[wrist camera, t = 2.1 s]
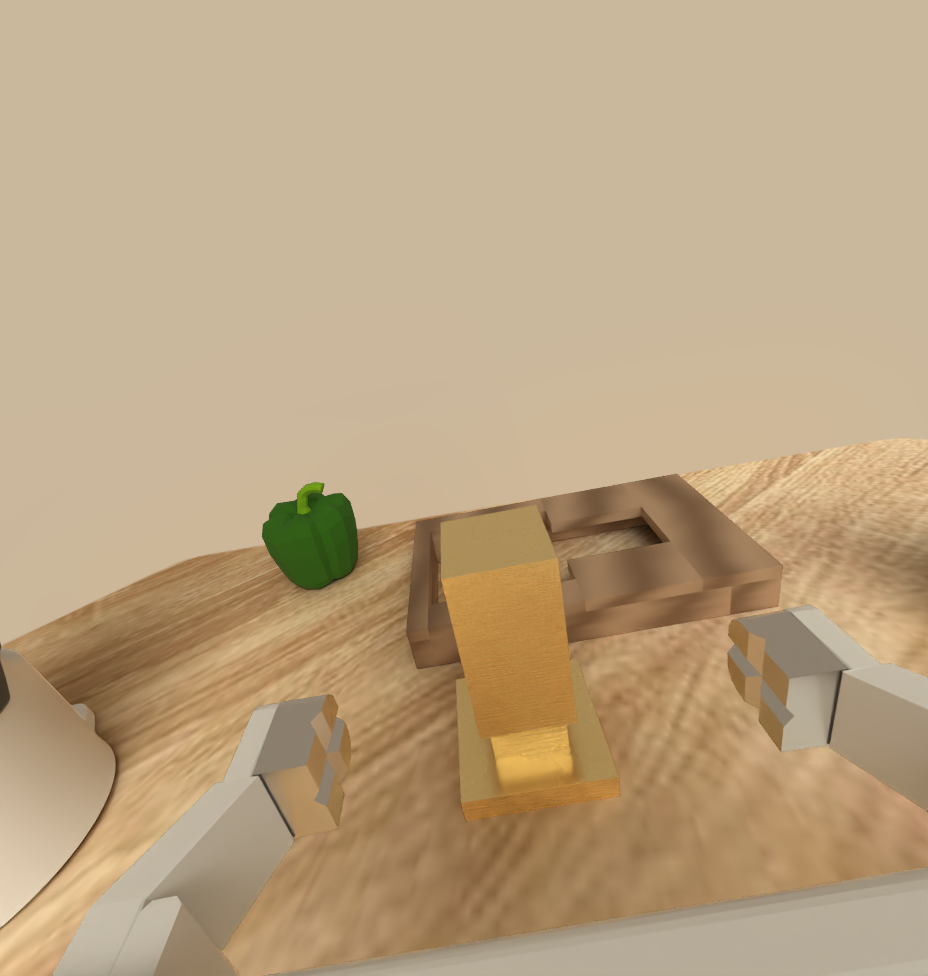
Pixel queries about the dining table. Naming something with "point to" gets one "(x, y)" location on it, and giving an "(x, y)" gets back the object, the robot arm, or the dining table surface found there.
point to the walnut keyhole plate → (617, 566)
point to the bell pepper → (313, 537)
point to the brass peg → (518, 672)
